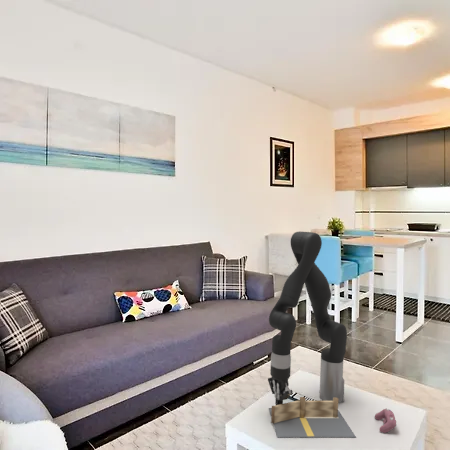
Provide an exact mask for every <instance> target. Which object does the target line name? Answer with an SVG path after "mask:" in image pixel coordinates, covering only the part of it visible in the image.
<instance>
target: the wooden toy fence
mask: <svg viewBox="0 0 450 450" xmlns="http://www.w3.org/2000/svg"><path fill="white" fill-rule="evenodd" d="M299 401H300V418H304V417H334V418H337V417H338V410H339V403H338V398H337V397H334V398H333V401H322V400H306V397H305V396H301V397H299Z"/></svg>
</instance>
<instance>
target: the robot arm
mask: <svg viewBox="0 0 450 450" xmlns="http://www.w3.org/2000/svg"><path fill="white" fill-rule="evenodd" d="M322 241H323V240H322V238H321V236H320V234H319V233H317V232H312V231H296V232H293V234H292V235H291V237H290V247H291V252H292V254H293V256H294V258H295V260H296V263H297V266H296V268H295V269H294V270H293V271H292V272H291V273H290V275H289V276H288V277H287V278H286V280H285V282H284V284H283V287H282V290H281V294H280V296H279V298H278V300H277V302H276V304H275V305H274V306H273V307H272V310H271V311H270V313H269V317H268V322H269V325H270V327H272V328H273V329H275V330H278V331H280V334H277V335H274V336H273V338H272V341H271V345H272V346H271V355H270V377H268V378H267V381H268V385H269V388H270V391H271V393H272V395H274V398H275V403H274V404H275V405H279V404H284V401H285V400H286V401H287V400H288V399H289V398H290V396H291V395H292V394H293V390H292V389H290V387H289V384H290V383H289V379H290V378H291V367H292V366H291V364H292V355H291V352H292V351H291V349H292V348H291V347H292V345H291V344H292V341H293V338H294V334H295V331H296V328H297V320H296V318H295V316H294V315H293V314H291V313H289V312H287V311H288V310H289V309H292V308H296V307H297V306H298V304H299V300H300V297H301V294H302V291H303V288H304V286H305V290H306V293H307V295H308V299H309V301H310V302H309V303H310V305H311V308H312V313H313V315H314V320H315V326H316V331H317V334H318V337H319V338H320V340H323V341H324V342H325V343H328V344H329V346H330V348H324V349H322V350H321V352H320V368H319V369H320V372H319V373H320V375H319V395H318V396H319V399H320V401H333V398H334V397H337V398H338V404H341V403H344V400H345V399H344V398H345V397H344V396H345V379H344V376H343V375H344V358H345V354H346V350H347V340H348V331H347V327H346V326H345V324H343V323H340V322H337V321H335V320H332V319H331V317H330V314H329V312H328V307H329V304H330V301H331V299H332V291H331V288H330V284H329V281H328V278H327V277H326V275H325V274H324V272H323V271H322V270H321V269H320V267H318V266H317V264H316V263H315V262H316V260H317V258H318V256H319V254H320V251H321V249H322V244H323V243H322Z"/></svg>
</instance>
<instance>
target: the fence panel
mask: <svg viewBox="0 0 450 450" xmlns="http://www.w3.org/2000/svg"><path fill="white" fill-rule="evenodd" d="M271 408H272V411H271V415H270V423H271V424H273V423H276V422H280V421H285V420H289V419H293V418H297V417H300V399H299V400H295V401H290V402H289V401H288V402H285V403H284V402H283V404H279V405H276V404H275V405H271Z"/></svg>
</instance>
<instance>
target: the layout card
mask: <svg viewBox="0 0 450 450" xmlns="http://www.w3.org/2000/svg"><path fill="white" fill-rule="evenodd" d="M271 411H272V407H268V412H269V415H270V416H271ZM272 425H273V428H274V431H275V434H276V438H277V439H286V438H287V439H291V438H293V439H297V438H298V439H314V438H315V439H318V438H319V439H321V438H323V439H324V438H325V439H327V438H328V439H331V438H332V439H333V438H334V439H335V438H336V439H341V438H344V439H350V438H351V439H355V438H357V437H356V435H355V433H354V431H353V430H352V428H351V427H350V425H349V424H348V422H347V420H346V419H345V418H344V416H343V415H342V413H341V411H340V410H339V409H338V417H337V418H334V417H304V418H300V417H297V418H293V419H289V420H285V421H280V422H276V423H272Z"/></svg>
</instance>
